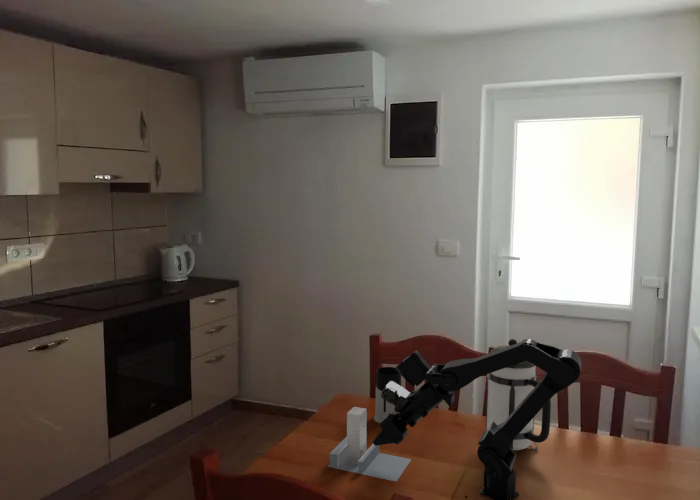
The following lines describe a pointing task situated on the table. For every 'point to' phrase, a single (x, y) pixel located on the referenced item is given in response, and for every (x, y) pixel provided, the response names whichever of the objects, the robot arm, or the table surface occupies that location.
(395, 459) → the vise
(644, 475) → the table surface
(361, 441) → the aluminium bar
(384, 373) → the glass holder
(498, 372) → the coffee press
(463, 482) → the table surface
